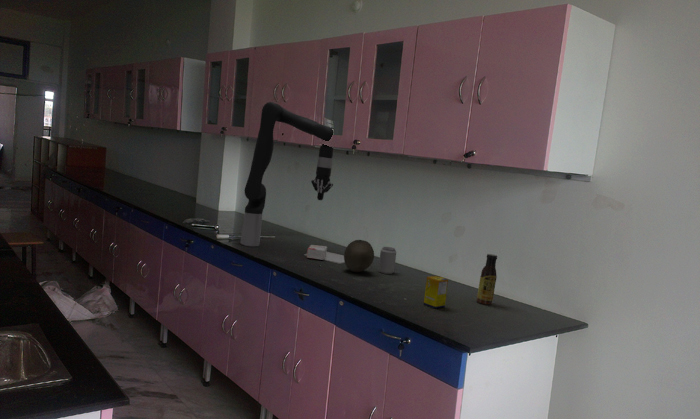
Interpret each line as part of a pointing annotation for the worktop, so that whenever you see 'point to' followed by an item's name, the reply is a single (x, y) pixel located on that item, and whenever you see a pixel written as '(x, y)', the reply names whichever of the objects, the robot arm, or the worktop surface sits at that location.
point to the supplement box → (435, 291)
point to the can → (387, 260)
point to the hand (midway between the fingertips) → (319, 200)
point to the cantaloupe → (358, 255)
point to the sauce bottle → (487, 281)
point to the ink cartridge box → (317, 252)
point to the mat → (333, 258)
